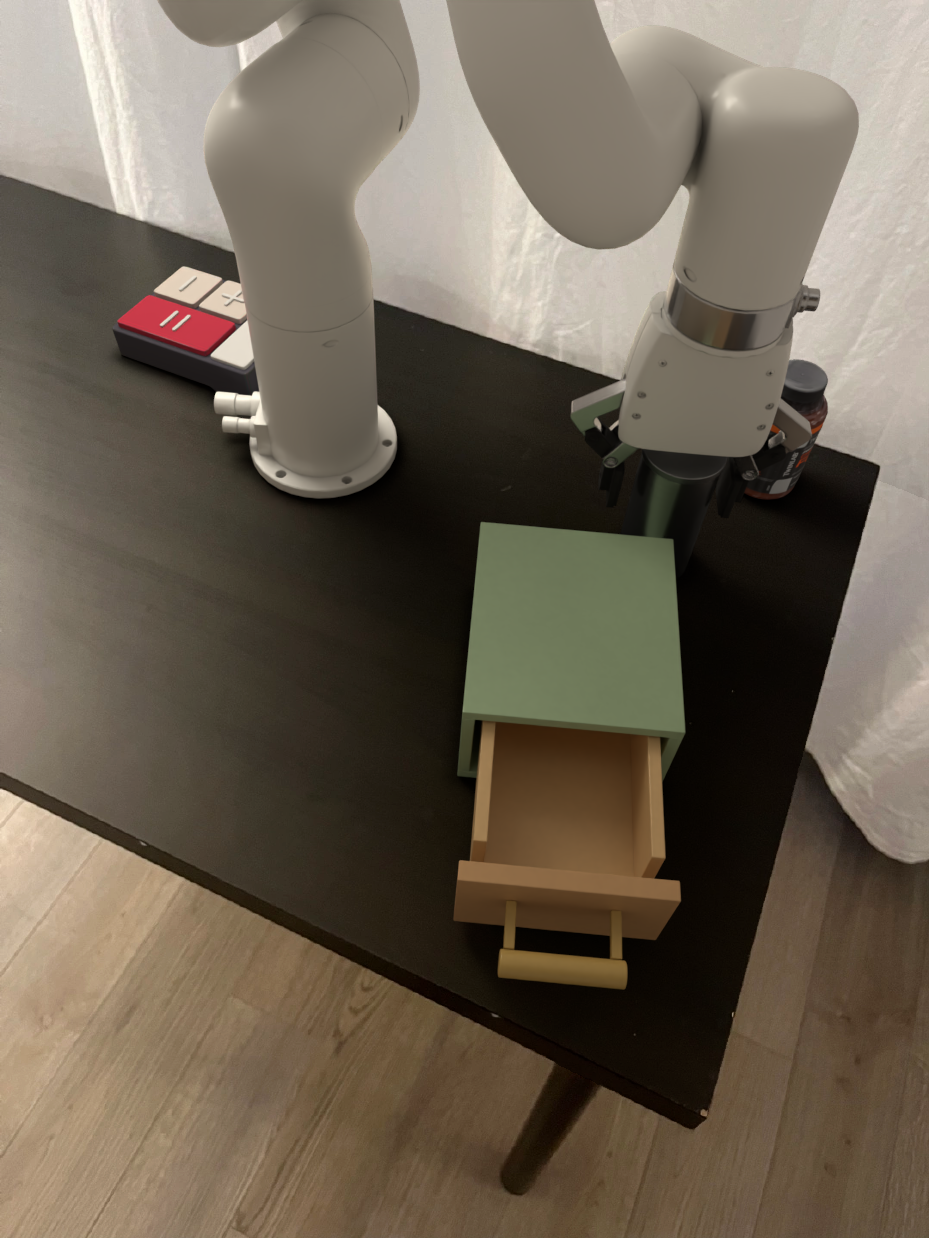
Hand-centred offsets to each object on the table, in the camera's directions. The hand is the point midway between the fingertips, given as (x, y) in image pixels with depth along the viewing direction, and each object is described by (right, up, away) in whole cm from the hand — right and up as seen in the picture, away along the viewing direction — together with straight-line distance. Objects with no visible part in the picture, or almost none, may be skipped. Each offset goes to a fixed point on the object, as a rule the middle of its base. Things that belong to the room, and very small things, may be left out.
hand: (666, 498), depth 72 cm
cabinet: (-8, -14, -2) cm, 17 cm away
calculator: (-38, +16, +18) cm, 46 cm away
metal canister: (0, -4, +5) cm, 7 cm away
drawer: (-9, -24, -11) cm, 28 cm away
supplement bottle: (+10, +3, +11) cm, 16 cm away
